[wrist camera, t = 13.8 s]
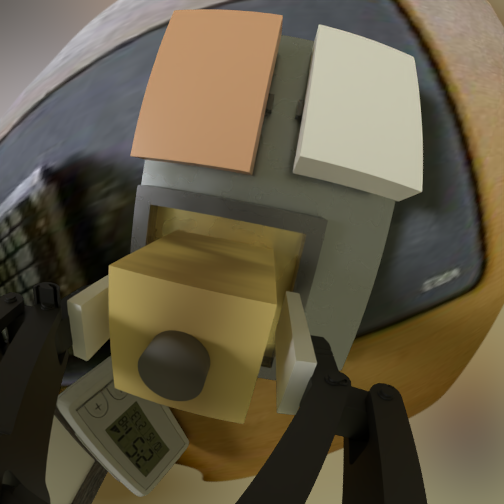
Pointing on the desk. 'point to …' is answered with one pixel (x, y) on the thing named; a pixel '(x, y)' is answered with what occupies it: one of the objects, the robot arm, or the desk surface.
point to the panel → (279, 216)
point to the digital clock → (123, 429)
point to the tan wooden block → (192, 322)
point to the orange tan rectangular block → (209, 90)
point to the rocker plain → (361, 117)
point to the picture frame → (71, 466)
